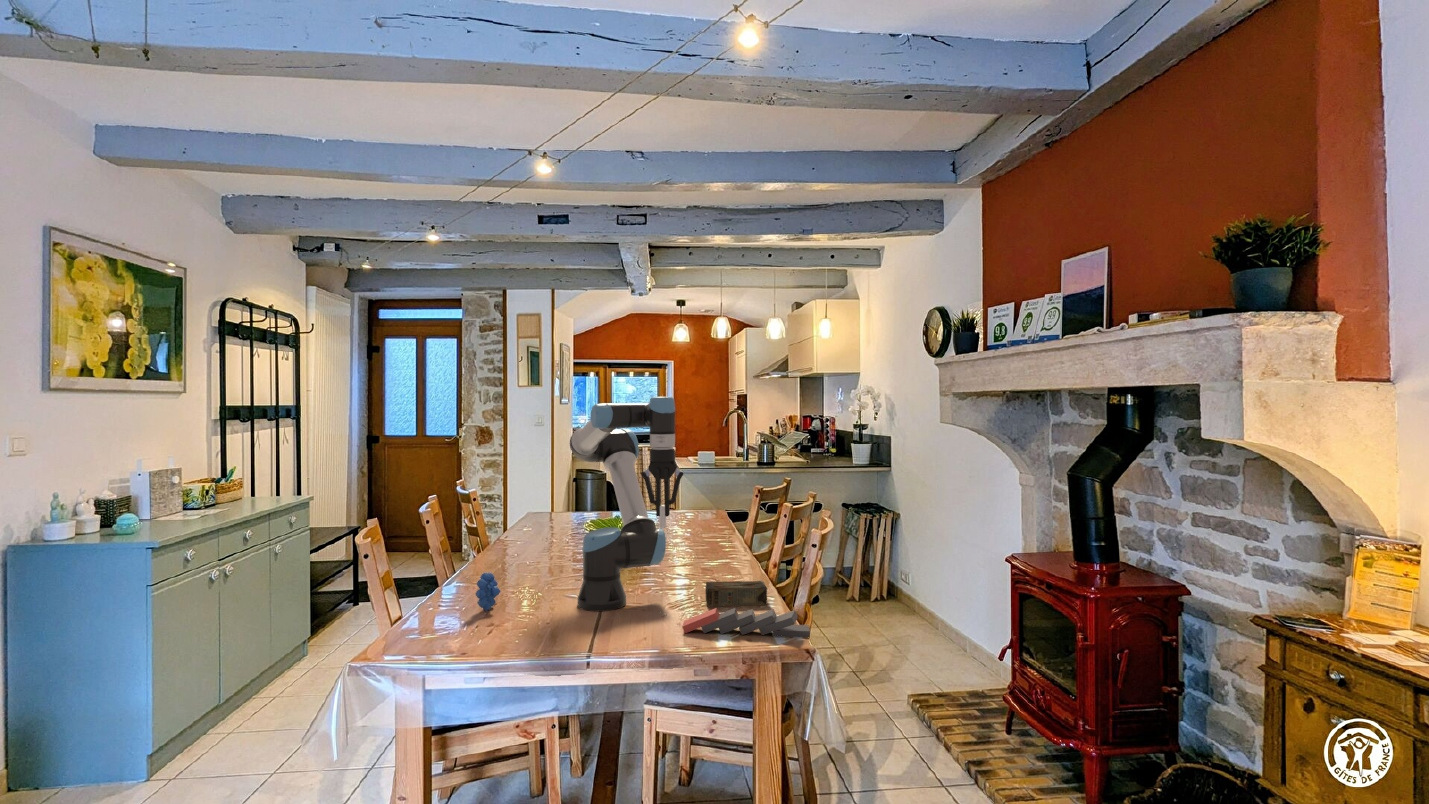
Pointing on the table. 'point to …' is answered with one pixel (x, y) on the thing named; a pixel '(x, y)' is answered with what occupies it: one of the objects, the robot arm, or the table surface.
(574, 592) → the table surface
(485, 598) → the grapes
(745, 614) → the domino
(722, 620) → the domino
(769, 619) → the domino
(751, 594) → the beverage carton
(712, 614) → the domino red
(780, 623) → the domino
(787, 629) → the domino
